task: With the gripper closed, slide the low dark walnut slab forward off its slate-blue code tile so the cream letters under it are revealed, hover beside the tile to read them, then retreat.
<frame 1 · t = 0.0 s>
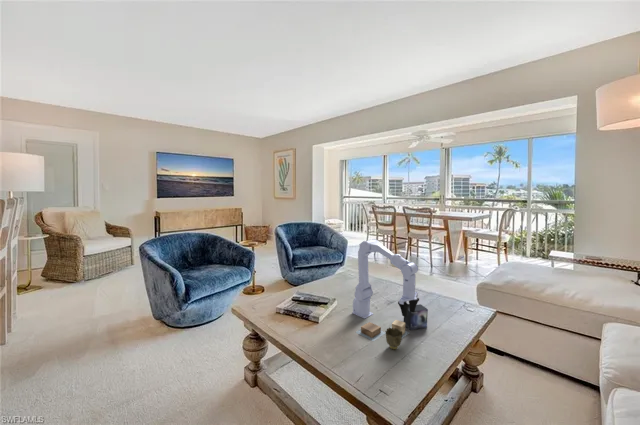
hand: (408, 313, 137), 10 cm above the table, fingers open, 7 cm apart
cup: (393, 348, 125), on the table
code tile II: (398, 332, 138), on the table
oak block: (398, 332, 138), resting on code tile II
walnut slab: (370, 332, 138), resting on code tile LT
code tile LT: (370, 332, 138), on the table
small box: (415, 327, 144), on the table, touching gripper
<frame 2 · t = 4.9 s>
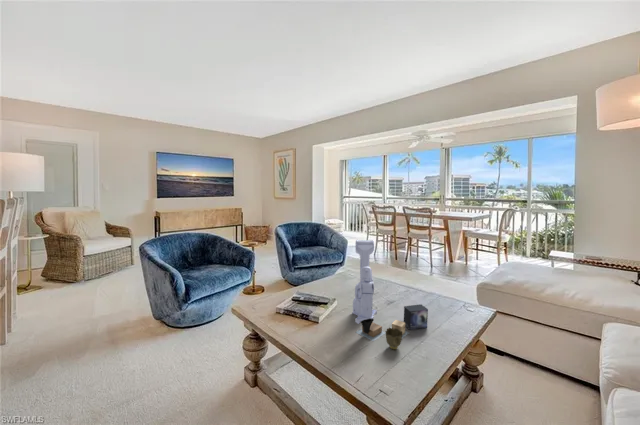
hand: (366, 332, 136), 2 cm above the table, fingers closed
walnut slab: (371, 331, 139), resting on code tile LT, touching gripper
small box: (415, 327, 144), on the table
everything else where it was.
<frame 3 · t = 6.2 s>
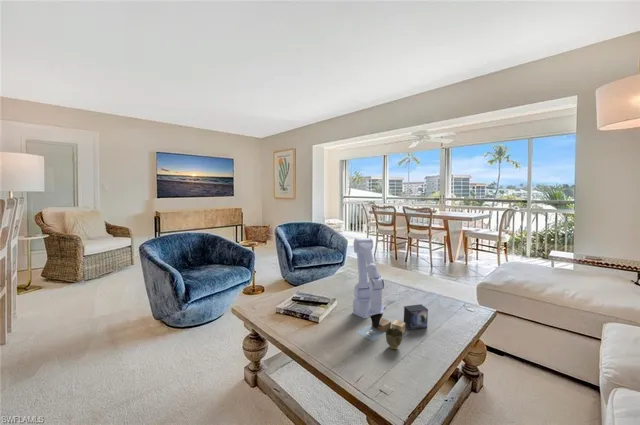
hand: (375, 326, 141), 2 cm above the table, fingers closed
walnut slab: (381, 326, 144), on the table, touching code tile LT
everything else where it was.
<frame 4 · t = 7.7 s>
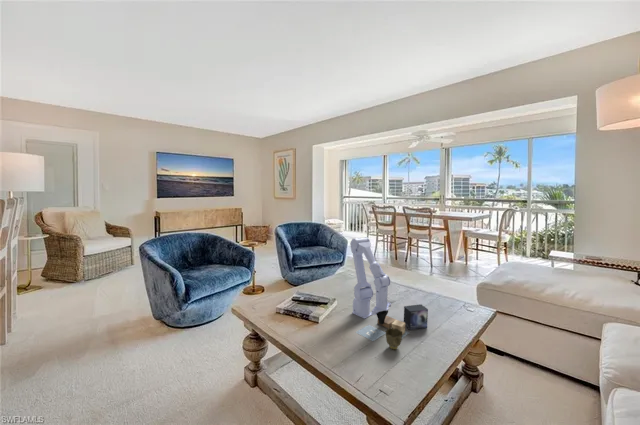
hand: (381, 323, 144), 2 cm above the table, fingers closed
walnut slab: (386, 324, 147), on the table
everything else where it was.
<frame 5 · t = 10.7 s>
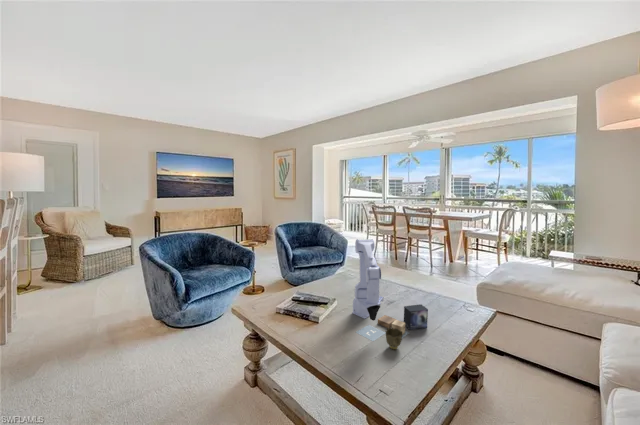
hand: (372, 319, 132), 10 cm above the table, fingers closed
nothing on the table moved.
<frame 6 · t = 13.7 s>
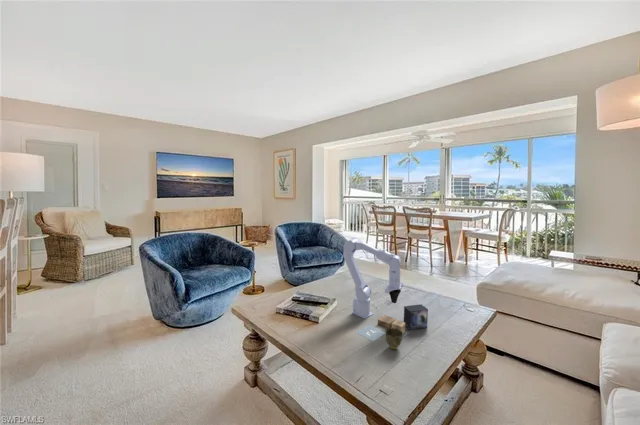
hand: (394, 302, 149), 10 cm above the table, fingers closed
nothing on the table moved.
at the end: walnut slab inside the target area (1.3 cm from its centre), on the table; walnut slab moved 13.5 cm from its start; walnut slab tilted 0° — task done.
